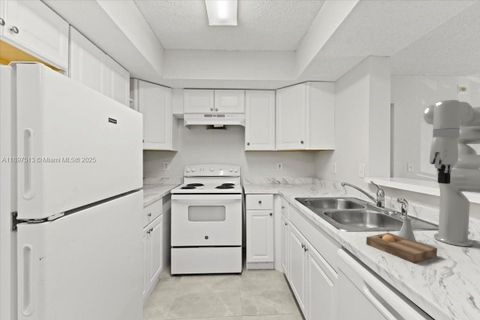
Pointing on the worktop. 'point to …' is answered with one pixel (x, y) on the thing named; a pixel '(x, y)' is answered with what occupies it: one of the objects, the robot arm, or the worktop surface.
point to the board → (402, 247)
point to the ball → (388, 238)
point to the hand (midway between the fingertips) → (443, 183)
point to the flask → (407, 229)
